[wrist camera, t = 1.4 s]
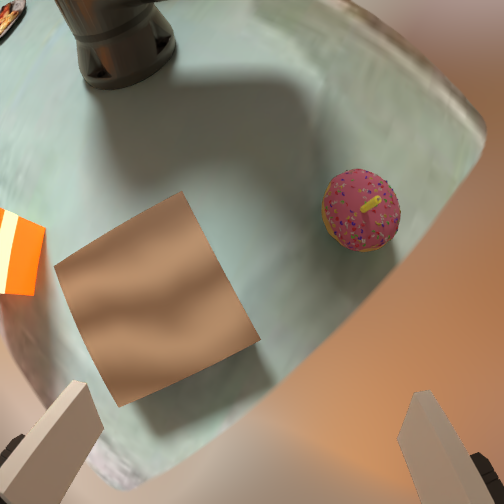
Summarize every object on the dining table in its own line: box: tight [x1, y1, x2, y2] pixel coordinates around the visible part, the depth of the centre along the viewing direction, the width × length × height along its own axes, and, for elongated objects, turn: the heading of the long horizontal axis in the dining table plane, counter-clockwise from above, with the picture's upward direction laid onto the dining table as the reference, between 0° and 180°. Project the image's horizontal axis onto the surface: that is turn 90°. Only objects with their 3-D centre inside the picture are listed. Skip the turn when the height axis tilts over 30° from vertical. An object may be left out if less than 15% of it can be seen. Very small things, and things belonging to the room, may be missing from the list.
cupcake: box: [322, 169, 401, 252], centre depth 28 cm, size 9×8×12 cm
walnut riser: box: [54, 191, 261, 407], centre depth 29 cm, size 15×15×6 cm
